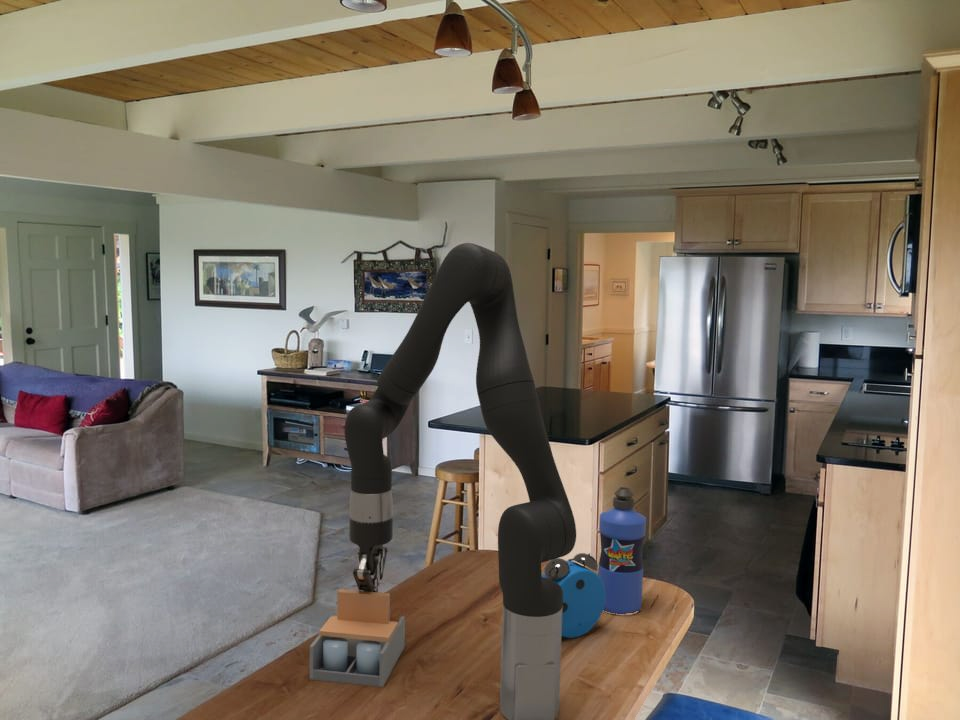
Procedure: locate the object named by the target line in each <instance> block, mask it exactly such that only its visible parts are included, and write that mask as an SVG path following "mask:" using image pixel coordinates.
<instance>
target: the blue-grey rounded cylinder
mask: <svg viewBox="0 0 960 720" xmlns="http://www.w3.org/2000/svg"><path fill="white" fill-rule="evenodd" d="M380 652H381V644H380V643H379V642H377V641H371V640H369V641H363V642H360V643H359V644H358V645H357V665H356V674H366V675H375V676H379V671H380Z"/></svg>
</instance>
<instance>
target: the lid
mask: <svg viewBox="0 0 960 720" xmlns="http://www.w3.org/2000/svg"><path fill="white" fill-rule="evenodd" d="M337 611H338V616H334V615H331V616H330V617H329V618H328V619H327V621H326V622H325V624H323V626H322V627H321V628H320V630H318V631H319V633H318V635H319V636H329V637H340V638H350V639H361V640H371V641H381V642H389V641H390V639H391V638H392V636H393V634H394V632H395V631H396V629H397V627H398V622H399V621H393V620H392V621H391V616H390V615H391V593H390V592H389V593H388V592H387V593H386V592H379V591H378V592H368V591H361V590H356V589H344V588H342V589H341V588H339V590H338V591H337Z"/></svg>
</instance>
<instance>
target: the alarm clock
mask: <svg viewBox="0 0 960 720" xmlns="http://www.w3.org/2000/svg"><path fill="white" fill-rule="evenodd" d="M598 568H599V563H598V562H597V560H596V559H595V558H594V557H593V556H592V555H591V553H590V552H589V553H588V554H587V553H586V552H581V553H577V554H576V555H574V556H573V558H569V559H568V560H565V559H563V558H562V557H560V558H556V559H553V560H550V561H547V563H546V565H545V566H544V568H543V574H542V577H545V578H548V579H550V580H553V581H554V582H556V583H558V584H559V585H560V587H561V588H562V591H563V611H562V637H564V638H569V639H574V638H577V637H582V636H583V635H585V634H587V633H588V632H589V631H591V629H593V628H594V626H595V625H596V623H597V622H598V621H599V619H600V618H601V615H602V613H603V608H604V604H605V588H604V585H603V582H602V580H601V578H600V577H599V576H598V574H597V573H596V572H597V571H598Z"/></svg>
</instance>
